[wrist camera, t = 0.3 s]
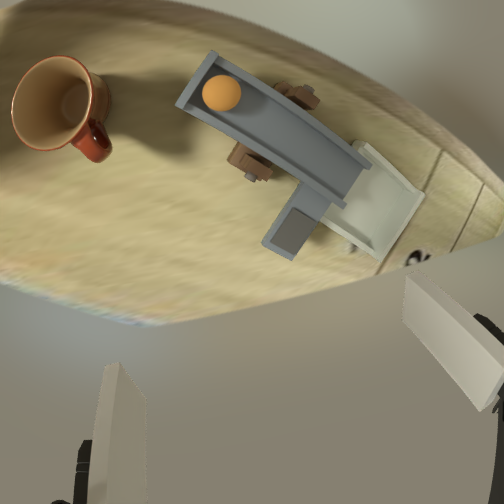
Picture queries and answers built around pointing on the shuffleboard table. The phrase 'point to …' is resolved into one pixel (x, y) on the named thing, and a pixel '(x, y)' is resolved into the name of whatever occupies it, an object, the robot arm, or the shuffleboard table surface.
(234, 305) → the shuffleboard table surface
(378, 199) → the tray
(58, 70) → the mug
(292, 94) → the fulcrum
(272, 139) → the lever
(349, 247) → the shuffleboard table surface
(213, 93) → the ball
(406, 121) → the shuffleboard table surface
